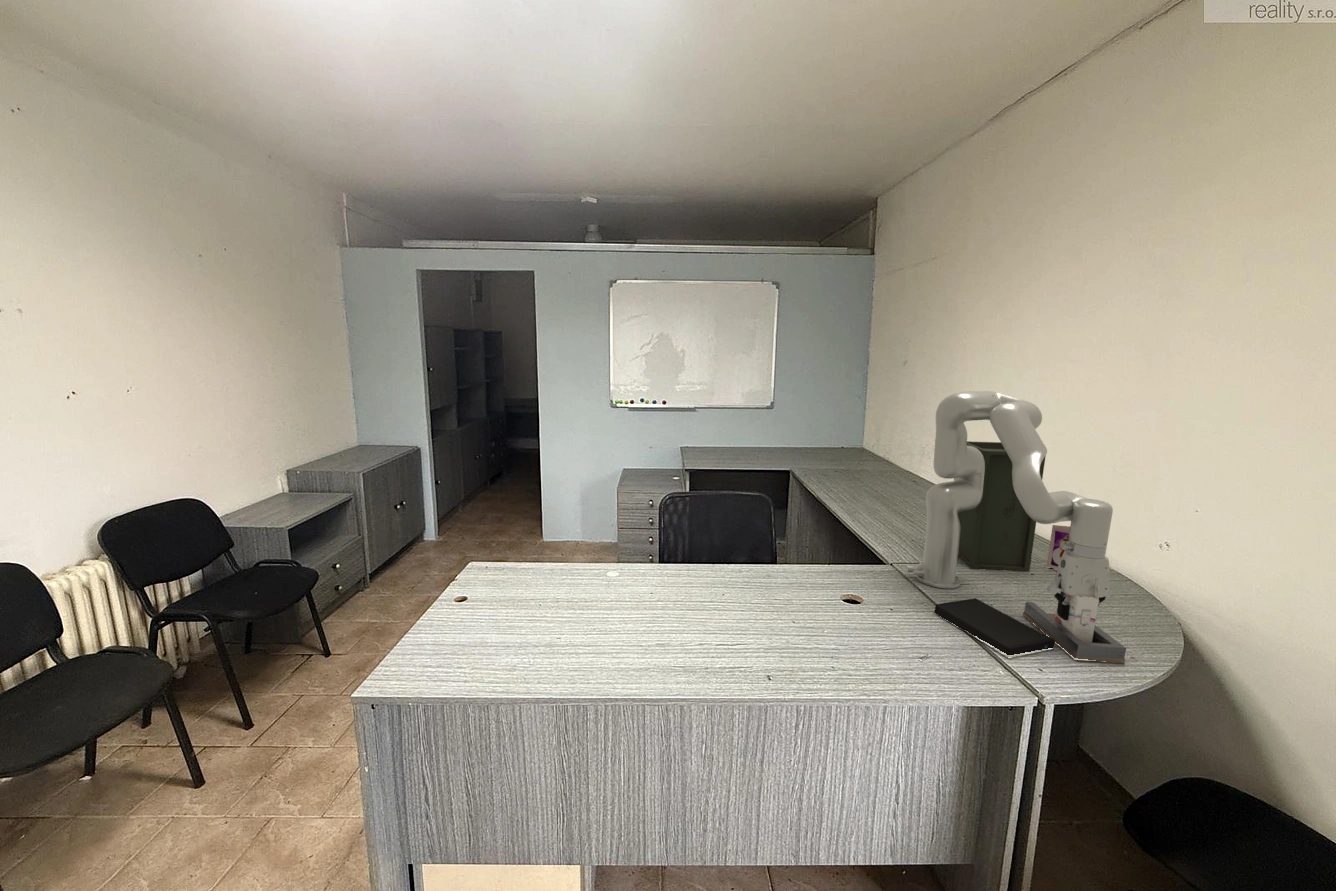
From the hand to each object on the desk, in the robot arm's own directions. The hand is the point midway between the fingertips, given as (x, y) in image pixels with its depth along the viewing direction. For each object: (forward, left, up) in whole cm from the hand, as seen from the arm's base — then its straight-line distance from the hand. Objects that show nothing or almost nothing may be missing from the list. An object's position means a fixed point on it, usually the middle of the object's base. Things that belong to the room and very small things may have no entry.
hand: (1075, 617), depth 136 cm
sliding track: (0, +1, -6) cm, 6 cm away
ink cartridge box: (0, 0, -5) cm, 5 cm away
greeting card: (+27, +46, -6) cm, 54 cm away
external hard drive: (-18, +2, -7) cm, 20 cm away
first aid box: (+4, +53, -6) cm, 53 cm away
